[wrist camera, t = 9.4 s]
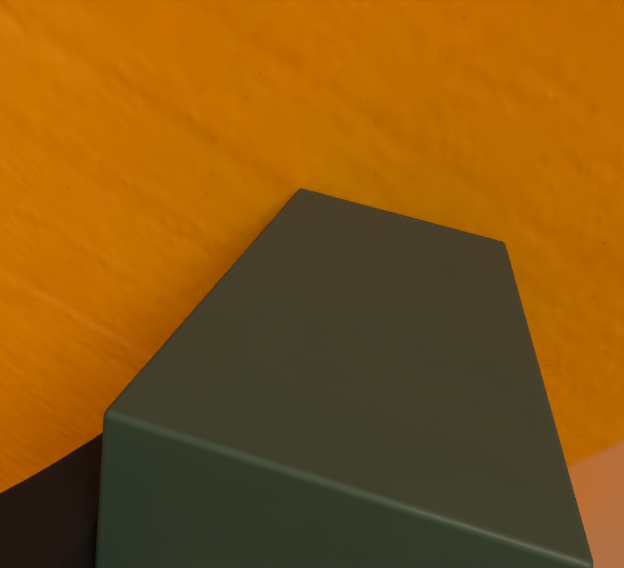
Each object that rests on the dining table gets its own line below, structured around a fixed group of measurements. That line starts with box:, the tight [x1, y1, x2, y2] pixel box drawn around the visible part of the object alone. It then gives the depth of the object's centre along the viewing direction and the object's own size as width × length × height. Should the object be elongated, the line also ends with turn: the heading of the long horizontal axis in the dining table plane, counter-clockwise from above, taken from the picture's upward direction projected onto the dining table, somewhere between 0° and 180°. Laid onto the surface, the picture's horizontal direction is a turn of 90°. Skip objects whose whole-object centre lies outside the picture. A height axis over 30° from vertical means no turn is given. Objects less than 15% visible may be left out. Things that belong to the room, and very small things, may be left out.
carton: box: [95, 189, 593, 568], centre depth 10 cm, size 9×5×4 cm
